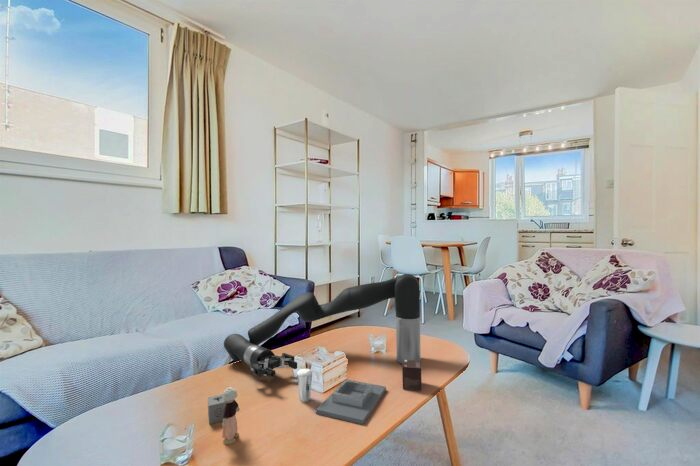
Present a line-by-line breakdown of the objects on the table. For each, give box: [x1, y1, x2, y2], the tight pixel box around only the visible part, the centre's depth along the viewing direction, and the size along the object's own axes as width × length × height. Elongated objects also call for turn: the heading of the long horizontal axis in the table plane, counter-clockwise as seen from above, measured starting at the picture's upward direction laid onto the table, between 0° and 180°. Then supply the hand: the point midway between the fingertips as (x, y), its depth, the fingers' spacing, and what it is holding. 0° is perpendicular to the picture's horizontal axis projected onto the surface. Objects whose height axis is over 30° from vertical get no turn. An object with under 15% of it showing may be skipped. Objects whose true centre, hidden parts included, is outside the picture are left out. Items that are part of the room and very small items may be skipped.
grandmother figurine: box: [221, 386, 241, 445], centre depth 81 cm, size 8×4×13 cm, turn 5°
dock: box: [315, 379, 387, 426], centre depth 99 cm, size 20×14×4 cm
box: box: [401, 360, 423, 391], centre depth 108 cm, size 6×6×7 cm
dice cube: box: [207, 393, 227, 425], centre depth 92 cm, size 5×5×5 cm
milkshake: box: [296, 362, 313, 403], centre depth 101 cm, size 5×5×10 cm
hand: (285, 370), depth 107 cm, fingers open, 8 cm apart
